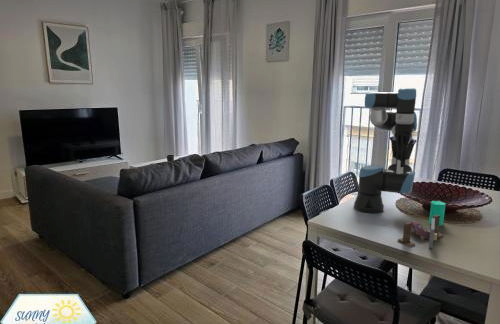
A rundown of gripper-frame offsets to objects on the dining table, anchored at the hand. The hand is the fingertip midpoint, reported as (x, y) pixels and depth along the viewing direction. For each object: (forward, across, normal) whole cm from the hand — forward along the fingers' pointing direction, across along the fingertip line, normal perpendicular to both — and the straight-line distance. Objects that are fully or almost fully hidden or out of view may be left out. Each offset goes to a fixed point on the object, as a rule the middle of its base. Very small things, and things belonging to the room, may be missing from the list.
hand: (399, 173), depth 157 cm
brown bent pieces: (+24, +18, -6) cm, 31 cm away
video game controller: (+25, +14, -2) cm, 29 cm away
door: (+24, +22, -4) cm, 33 cm away
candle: (+25, +10, +16) cm, 31 cm away
